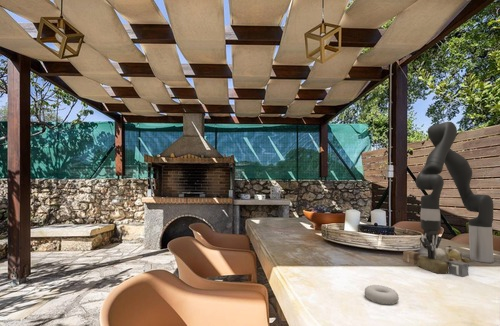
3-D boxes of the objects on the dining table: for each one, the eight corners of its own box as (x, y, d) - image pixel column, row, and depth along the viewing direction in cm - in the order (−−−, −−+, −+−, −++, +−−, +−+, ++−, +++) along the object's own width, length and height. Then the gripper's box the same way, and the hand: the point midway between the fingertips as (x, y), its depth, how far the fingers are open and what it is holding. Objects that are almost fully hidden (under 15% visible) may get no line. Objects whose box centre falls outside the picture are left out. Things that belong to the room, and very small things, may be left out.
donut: (374, 291, 96) (358, 297, 90) (374, 281, 96) (358, 286, 90) (404, 301, 88) (389, 309, 82) (404, 290, 88) (389, 297, 82)
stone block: (438, 274, 115) (437, 262, 116) (416, 266, 127) (415, 255, 127) (450, 274, 117) (449, 261, 117) (427, 266, 128) (426, 254, 129)
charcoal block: (454, 272, 119) (454, 260, 120) (468, 275, 115) (468, 263, 115) (448, 273, 117) (448, 261, 117) (462, 277, 112) (461, 264, 113)
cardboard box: (409, 260, 136) (409, 250, 136) (420, 263, 132) (419, 252, 132) (403, 261, 134) (403, 251, 134) (413, 264, 129) (413, 253, 130)
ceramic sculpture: (437, 241, 142) (473, 248, 130) (436, 258, 142) (473, 267, 130) (429, 243, 136) (466, 251, 124) (428, 261, 136) (466, 271, 124)
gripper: (430, 217, 130) (431, 255, 128) (412, 218, 124) (413, 257, 122) (447, 219, 123) (448, 259, 122) (430, 220, 117) (431, 262, 116)
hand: (431, 258), depth 122 cm, fingers closed
